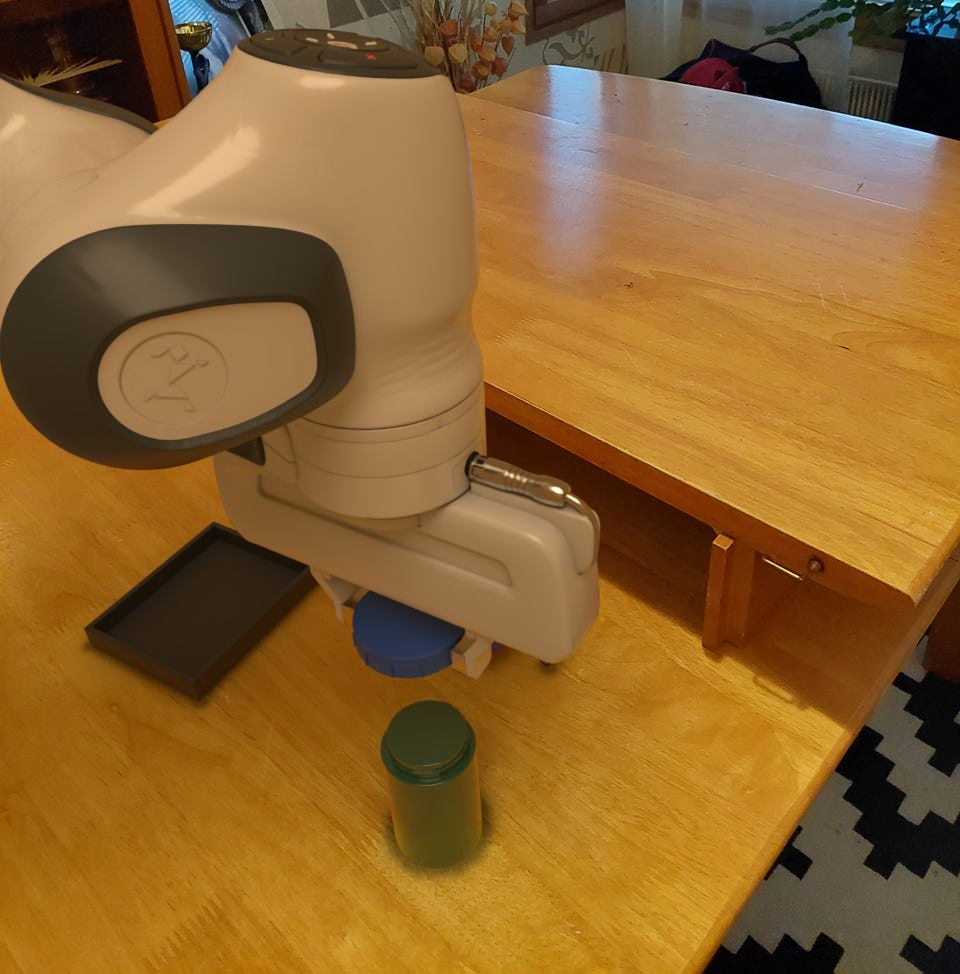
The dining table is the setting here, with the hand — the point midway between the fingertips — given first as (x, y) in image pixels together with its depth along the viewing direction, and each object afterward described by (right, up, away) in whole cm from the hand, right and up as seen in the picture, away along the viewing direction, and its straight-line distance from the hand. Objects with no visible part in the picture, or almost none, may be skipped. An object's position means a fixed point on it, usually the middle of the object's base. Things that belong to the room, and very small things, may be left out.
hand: (412, 641), depth 50 cm
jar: (+1, -14, +12) cm, 18 cm away
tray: (-19, -2, +28) cm, 34 cm away
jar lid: (0, +1, -1) cm, 2 cm away
